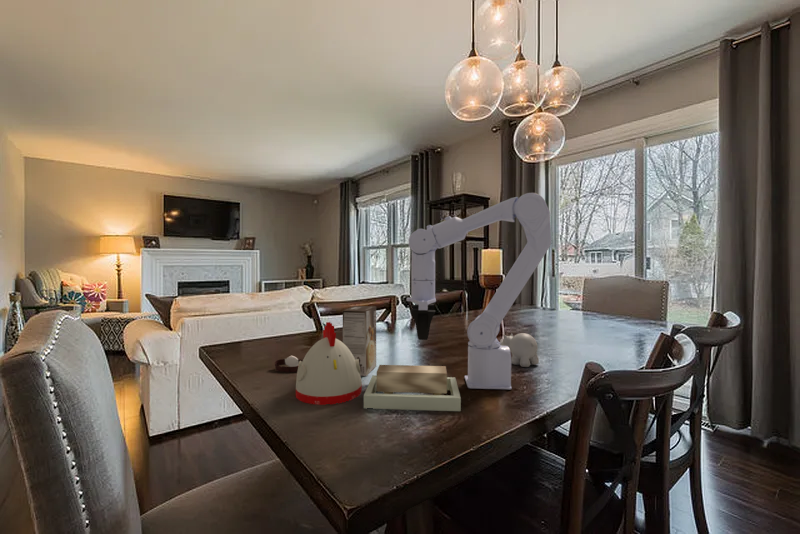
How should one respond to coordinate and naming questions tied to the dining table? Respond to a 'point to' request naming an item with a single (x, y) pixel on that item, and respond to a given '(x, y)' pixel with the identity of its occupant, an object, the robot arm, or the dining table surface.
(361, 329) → the coffee box
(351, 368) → the kitchen timer
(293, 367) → the watch
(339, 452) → the dining table surface
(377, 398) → the peg frame
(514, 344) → the round bodied animal figurine
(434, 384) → the board
